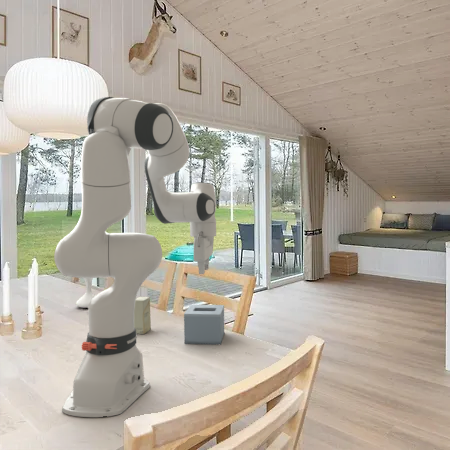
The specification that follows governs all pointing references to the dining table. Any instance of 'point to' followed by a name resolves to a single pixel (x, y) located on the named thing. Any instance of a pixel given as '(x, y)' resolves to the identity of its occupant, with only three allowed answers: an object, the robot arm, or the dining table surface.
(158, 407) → the dining table surface
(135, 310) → the skincare box
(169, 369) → the dining table surface
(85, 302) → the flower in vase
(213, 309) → the coin box
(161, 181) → the robot arm
